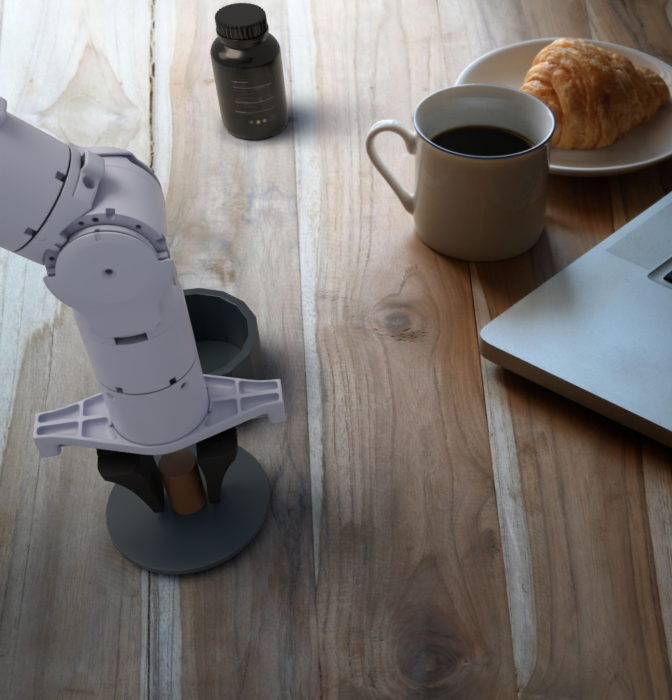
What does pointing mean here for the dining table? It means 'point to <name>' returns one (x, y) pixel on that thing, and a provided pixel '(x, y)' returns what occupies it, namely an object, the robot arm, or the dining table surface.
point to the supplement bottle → (248, 73)
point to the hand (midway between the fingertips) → (187, 495)
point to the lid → (190, 515)
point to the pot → (225, 334)
